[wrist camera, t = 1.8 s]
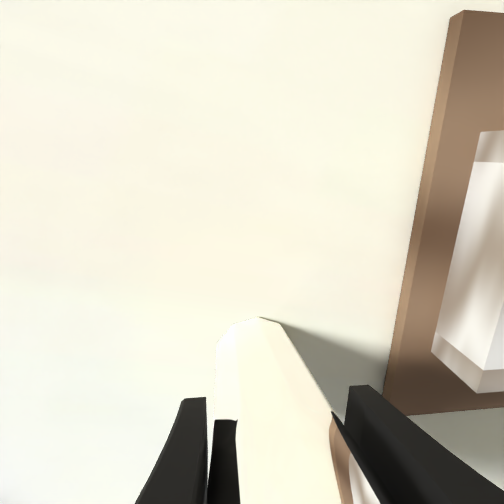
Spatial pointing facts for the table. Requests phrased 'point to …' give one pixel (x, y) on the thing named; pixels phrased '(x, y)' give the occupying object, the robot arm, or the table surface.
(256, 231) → the table surface
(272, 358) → the milkshake
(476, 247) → the pocket plate
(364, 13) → the table surface
